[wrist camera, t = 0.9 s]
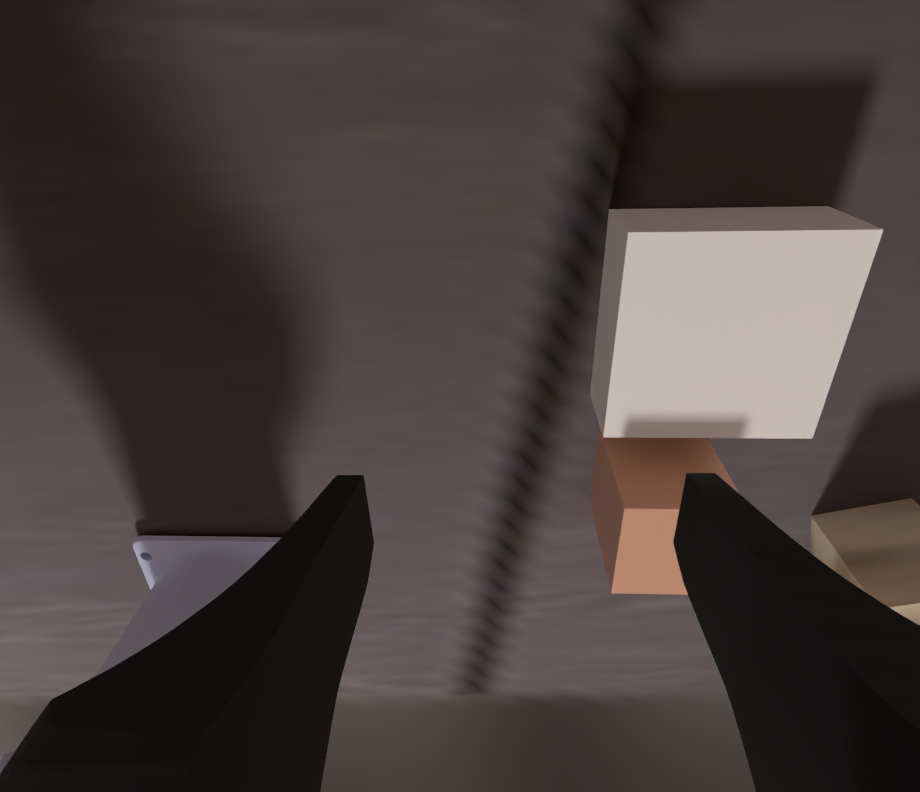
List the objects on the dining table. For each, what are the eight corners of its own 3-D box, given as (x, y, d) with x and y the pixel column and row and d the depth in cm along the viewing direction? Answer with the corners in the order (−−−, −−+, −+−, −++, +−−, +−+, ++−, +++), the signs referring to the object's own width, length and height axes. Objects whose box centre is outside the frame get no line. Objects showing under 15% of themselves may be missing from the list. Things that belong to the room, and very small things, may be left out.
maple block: (903, 563, 26) (985, 662, 22) (810, 578, 27) (871, 676, 23) (911, 497, 24) (1002, 591, 20) (810, 515, 25) (877, 609, 21)
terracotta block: (683, 503, 25) (723, 594, 21) (590, 502, 25) (611, 593, 21) (699, 425, 23) (748, 509, 19) (598, 425, 23) (624, 508, 19)
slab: (774, 394, 22) (812, 438, 20) (589, 393, 22) (603, 437, 20) (828, 206, 19) (883, 229, 16) (609, 209, 19) (628, 232, 16)
